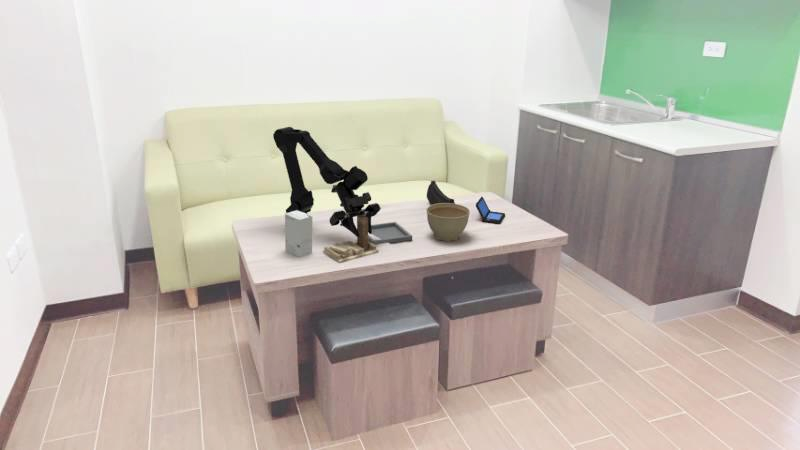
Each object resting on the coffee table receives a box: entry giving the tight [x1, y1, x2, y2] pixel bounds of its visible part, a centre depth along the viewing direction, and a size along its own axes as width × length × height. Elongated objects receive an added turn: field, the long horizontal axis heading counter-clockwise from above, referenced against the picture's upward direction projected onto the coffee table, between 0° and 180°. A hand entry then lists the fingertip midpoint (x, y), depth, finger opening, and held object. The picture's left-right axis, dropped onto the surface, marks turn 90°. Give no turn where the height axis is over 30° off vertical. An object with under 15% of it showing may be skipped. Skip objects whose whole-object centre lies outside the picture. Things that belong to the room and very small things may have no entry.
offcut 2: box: [338, 252, 354, 259], centre depth 202 cm, size 4×7×2 cm, turn 45°
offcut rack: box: [322, 240, 379, 264], centre depth 204 cm, size 16×11×3 cm
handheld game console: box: [475, 196, 506, 225], centre depth 241 cm, size 12×11×7 cm
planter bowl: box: [426, 203, 471, 242], centre depth 220 cm, size 16×16×11 cm
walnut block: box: [356, 215, 369, 252], centre depth 205 cm, size 2×4×13 cm, turn 37°
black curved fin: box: [426, 180, 456, 206], centre depth 244 cm, size 17×3×30 cm
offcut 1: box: [329, 242, 353, 255], centre depth 202 cm, size 4×7×2 cm, turn 54°
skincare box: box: [284, 210, 313, 258], centre depth 202 cm, size 8×6×15 cm
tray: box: [368, 221, 413, 245], centre depth 221 cm, size 16×16×2 cm
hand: (364, 235), depth 204 cm, fingers open, 5 cm apart
